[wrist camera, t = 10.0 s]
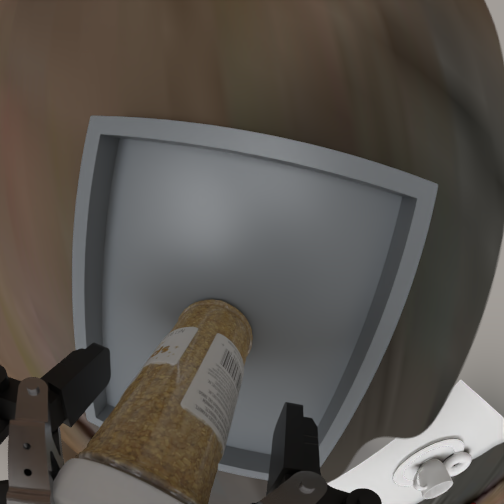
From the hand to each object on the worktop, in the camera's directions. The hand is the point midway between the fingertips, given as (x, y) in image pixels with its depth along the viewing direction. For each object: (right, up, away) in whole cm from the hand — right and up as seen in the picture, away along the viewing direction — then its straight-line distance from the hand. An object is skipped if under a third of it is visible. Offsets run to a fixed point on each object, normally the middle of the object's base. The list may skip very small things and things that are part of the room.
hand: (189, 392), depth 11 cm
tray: (+1, +1, +6) cm, 7 cm away
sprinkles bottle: (+1, +1, +6) cm, 6 cm away
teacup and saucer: (+21, -18, +9) cm, 29 cm away
